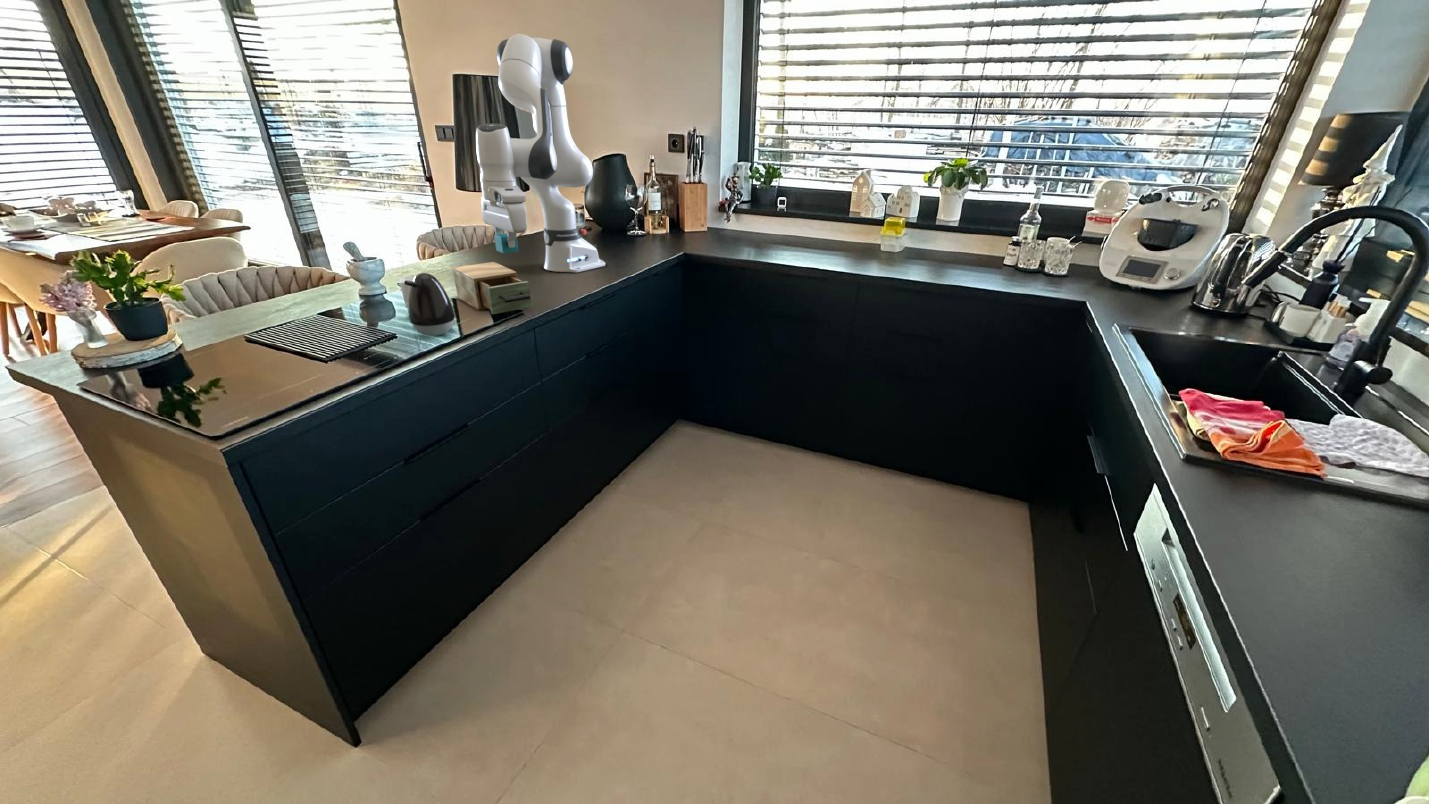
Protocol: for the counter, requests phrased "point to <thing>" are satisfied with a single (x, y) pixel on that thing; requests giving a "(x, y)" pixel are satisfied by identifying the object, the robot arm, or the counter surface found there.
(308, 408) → the counter surface
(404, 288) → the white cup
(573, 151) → the robot arm
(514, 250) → the teal cube
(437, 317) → the pump dispenser
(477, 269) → the wooden drawer box
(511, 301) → the green drawer
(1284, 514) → the counter surface
